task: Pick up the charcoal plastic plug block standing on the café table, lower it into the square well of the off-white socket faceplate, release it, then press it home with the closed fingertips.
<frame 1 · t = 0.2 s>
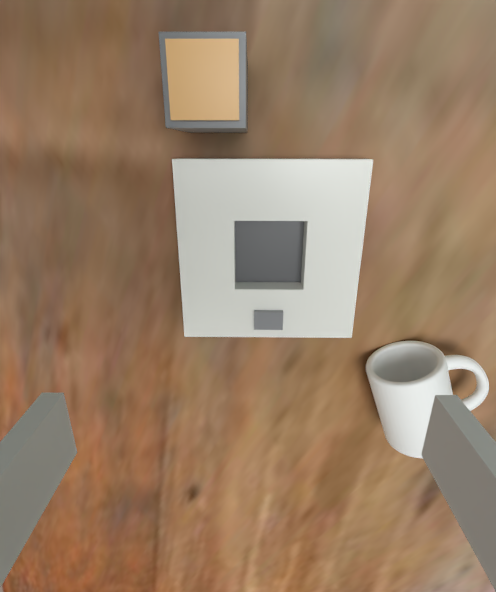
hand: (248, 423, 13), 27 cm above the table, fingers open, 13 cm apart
mug: (415, 370, 45), on the table
plug: (217, 99, 34), on the table
socket plate: (268, 249, 39), on the table
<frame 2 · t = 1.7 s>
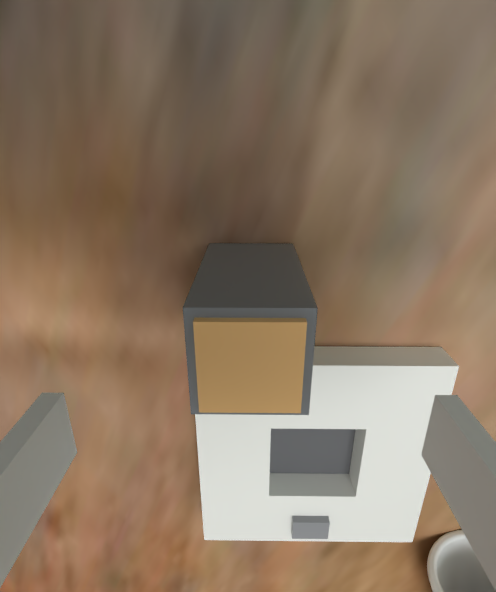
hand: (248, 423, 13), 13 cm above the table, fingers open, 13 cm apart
mug: (481, 554, 37), on the table
plug: (250, 282, 25), on the table
socket plate: (310, 439, 31), on the table
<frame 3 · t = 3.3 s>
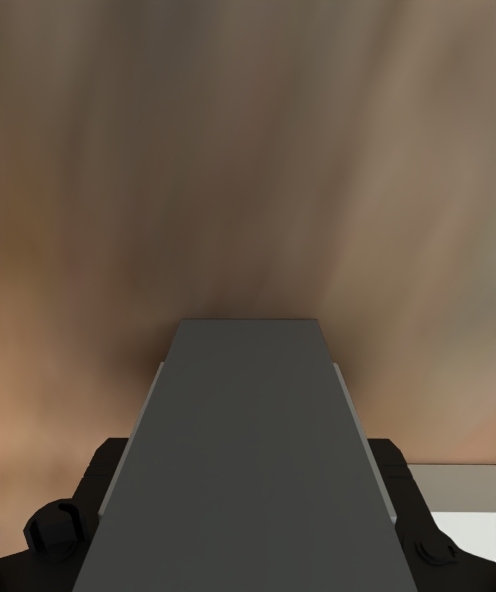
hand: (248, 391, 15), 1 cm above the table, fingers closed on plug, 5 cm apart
plug: (249, 376, 16), on the table, touching gripper
socket plate: (335, 581, 21), on the table
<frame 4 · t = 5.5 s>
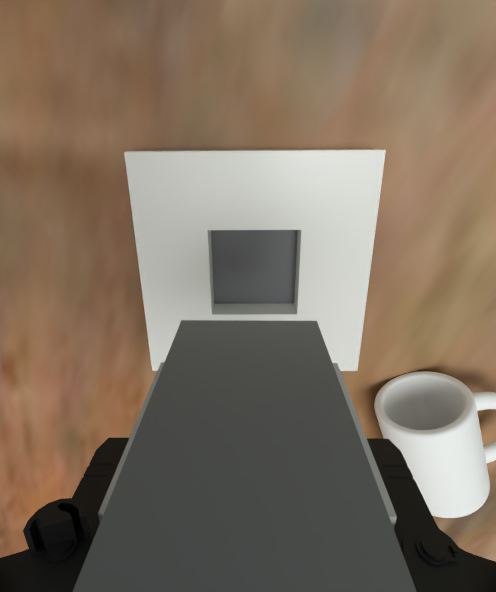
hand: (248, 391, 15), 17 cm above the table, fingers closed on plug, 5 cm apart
mug: (432, 404, 37), on the table
plug: (248, 377, 16), point 16 cm above the table, touching gripper
socket plate: (254, 264, 31), on the table
when the fingers open (3 cm above the table, at t = 7.7 s): plug drops 2 cm, resting on socket plate.
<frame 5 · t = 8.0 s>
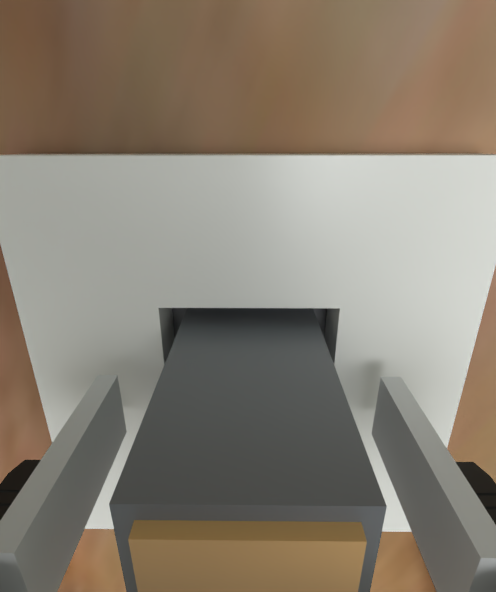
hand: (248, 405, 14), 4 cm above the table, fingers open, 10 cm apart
plug: (249, 356, 18), resting on socket plate
socket plate: (249, 352, 18), on the table
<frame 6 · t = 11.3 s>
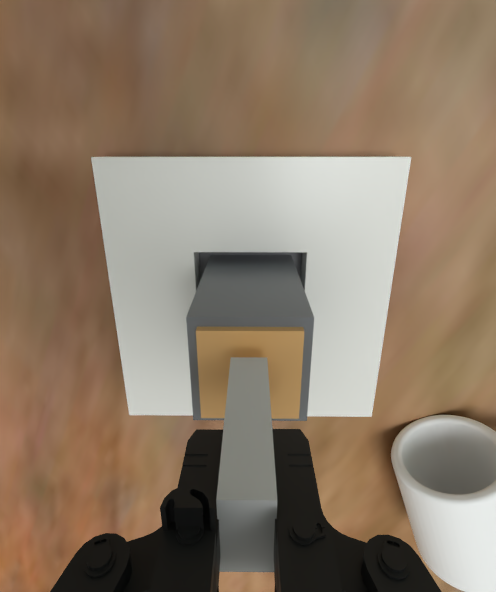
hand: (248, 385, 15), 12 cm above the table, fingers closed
mug: (457, 451, 32), on the table
plug: (250, 292, 26), resting on socket plate
socket plate: (250, 290, 26), on the table
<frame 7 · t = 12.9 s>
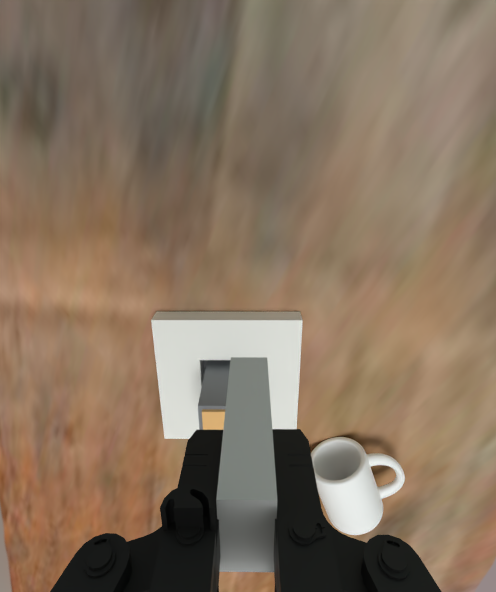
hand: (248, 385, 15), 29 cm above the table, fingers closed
mug: (352, 457, 55), on the table
plug: (229, 374, 49), resting on socket plate
socket plate: (229, 372, 50), on the table
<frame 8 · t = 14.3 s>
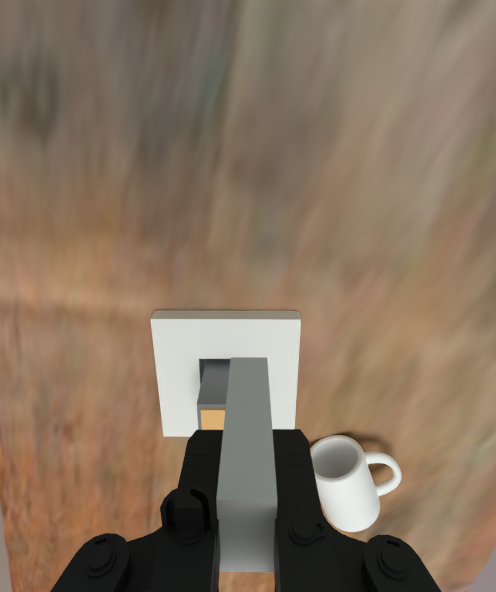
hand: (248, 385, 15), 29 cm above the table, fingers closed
mug: (349, 455, 56), on the table
plug: (228, 372, 50), resting on socket plate
socket plate: (228, 371, 50), on the table
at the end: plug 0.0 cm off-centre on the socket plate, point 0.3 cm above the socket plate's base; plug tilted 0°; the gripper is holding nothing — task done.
